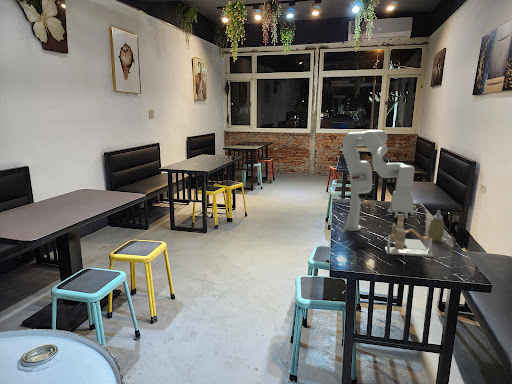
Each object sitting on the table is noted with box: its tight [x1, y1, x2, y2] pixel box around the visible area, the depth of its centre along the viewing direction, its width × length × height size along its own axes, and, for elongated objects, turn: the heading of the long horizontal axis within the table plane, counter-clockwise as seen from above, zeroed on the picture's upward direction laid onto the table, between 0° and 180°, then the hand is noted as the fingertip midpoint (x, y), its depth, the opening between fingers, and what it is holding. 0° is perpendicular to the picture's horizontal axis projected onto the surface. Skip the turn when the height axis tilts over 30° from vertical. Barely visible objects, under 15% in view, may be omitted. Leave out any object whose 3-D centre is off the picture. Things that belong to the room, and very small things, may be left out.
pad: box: [404, 238, 428, 250], centre depth 181 cm, size 14×10×1 cm
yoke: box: [390, 213, 407, 250], centre depth 169 cm, size 11×4×17 cm, turn 170°
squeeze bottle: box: [427, 209, 445, 242], centre depth 186 cm, size 8×8×18 cm
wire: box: [384, 228, 434, 258], centre depth 169 cm, size 6×22×14 cm, turn 80°
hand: (399, 224), depth 168 cm, fingers closed on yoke, 3 cm apart
